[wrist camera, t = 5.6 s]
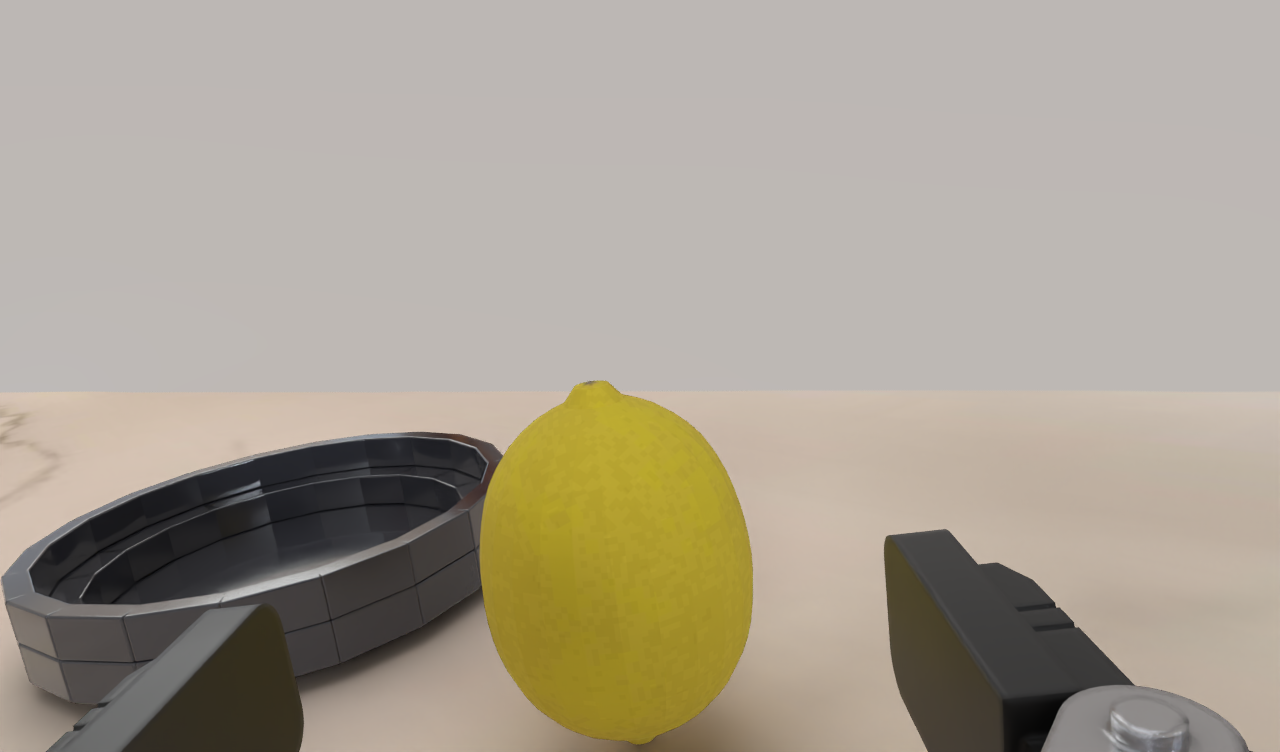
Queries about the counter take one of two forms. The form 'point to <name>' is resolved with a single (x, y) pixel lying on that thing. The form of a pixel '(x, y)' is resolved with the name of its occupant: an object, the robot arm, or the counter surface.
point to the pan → (258, 557)
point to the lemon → (615, 566)
